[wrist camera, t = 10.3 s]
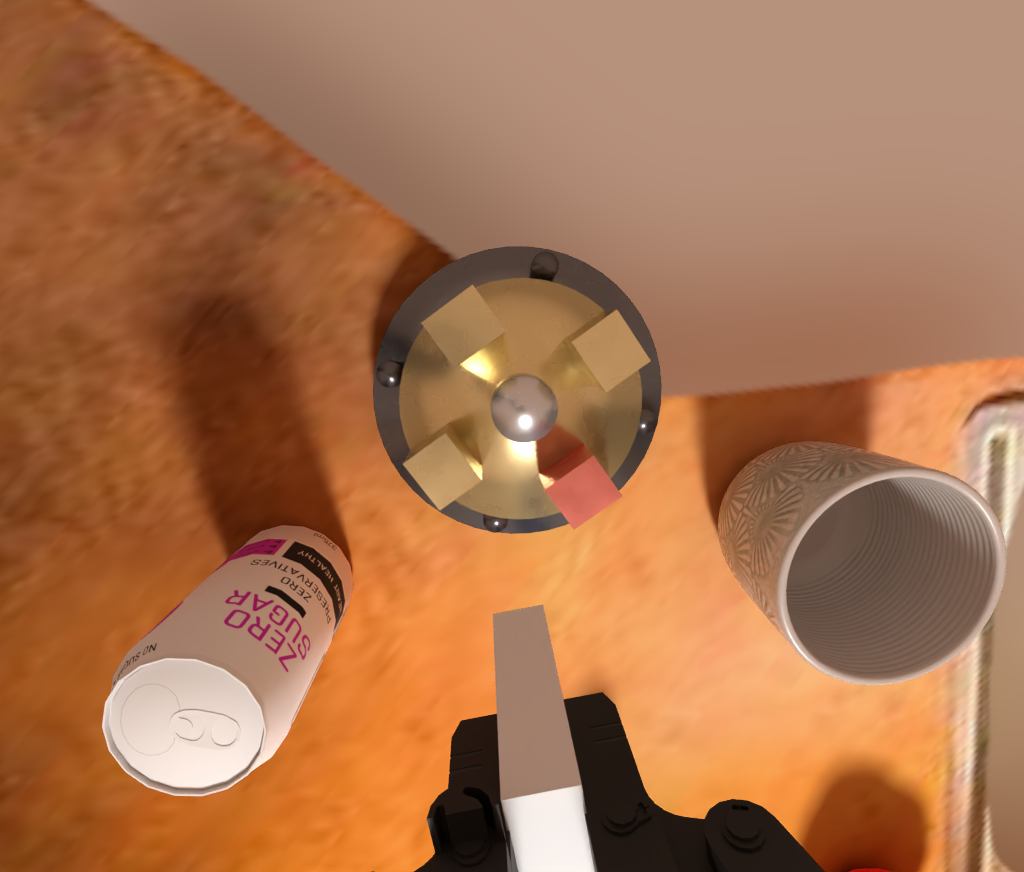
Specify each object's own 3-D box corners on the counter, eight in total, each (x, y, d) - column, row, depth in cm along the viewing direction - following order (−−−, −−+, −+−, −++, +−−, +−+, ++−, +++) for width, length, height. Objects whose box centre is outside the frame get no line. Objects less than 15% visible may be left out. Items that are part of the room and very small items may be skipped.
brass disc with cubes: (494, 546, 37) (495, 587, 31) (358, 372, 34) (333, 383, 29) (673, 422, 36) (708, 441, 30) (547, 232, 33) (559, 214, 27)
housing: (324, 356, 37) (283, 366, 29) (555, 192, 35) (574, 158, 28) (482, 568, 40) (482, 624, 33) (699, 426, 39) (749, 451, 31)
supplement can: (228, 617, 40) (79, 791, 25) (246, 509, 38) (99, 627, 24) (342, 640, 41) (262, 821, 26) (365, 535, 39) (293, 664, 24)
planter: (667, 492, 40) (734, 556, 29) (820, 392, 39) (948, 419, 28) (753, 623, 42) (844, 726, 31) (899, 531, 41) (1044, 606, 30)
